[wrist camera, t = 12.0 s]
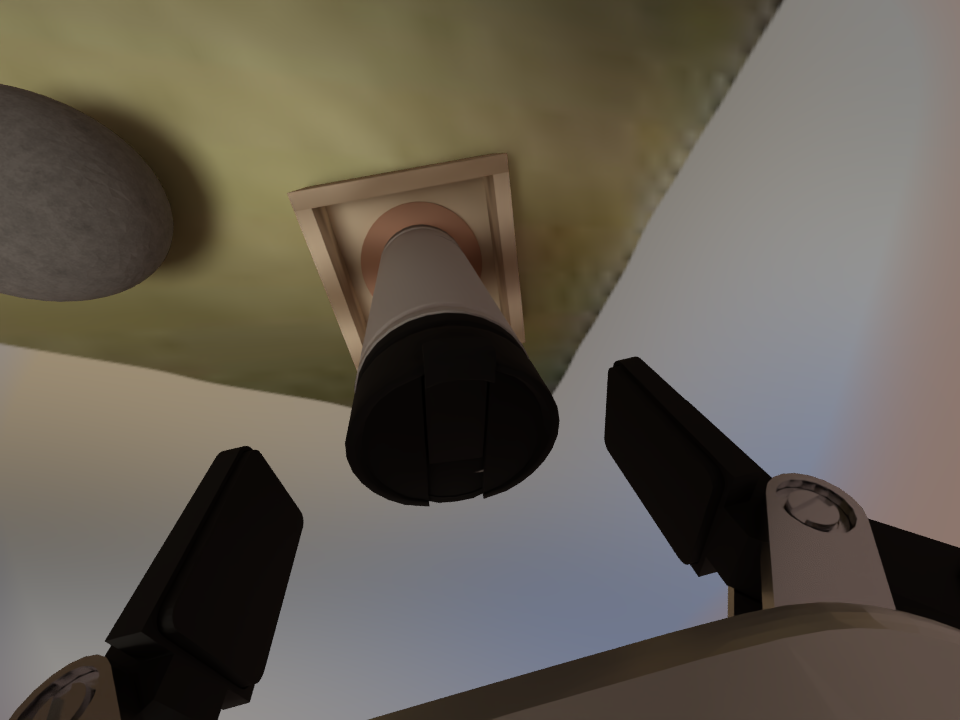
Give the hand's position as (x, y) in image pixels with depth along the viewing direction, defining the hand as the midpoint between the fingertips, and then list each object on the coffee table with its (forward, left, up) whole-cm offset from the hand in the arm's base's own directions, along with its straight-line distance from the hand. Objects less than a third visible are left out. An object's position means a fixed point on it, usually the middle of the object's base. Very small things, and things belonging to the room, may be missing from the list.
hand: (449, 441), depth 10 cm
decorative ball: (-7, -18, -21) cm, 29 cm away
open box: (+1, 0, -21) cm, 21 cm away
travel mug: (0, 0, -20) cm, 20 cm away
